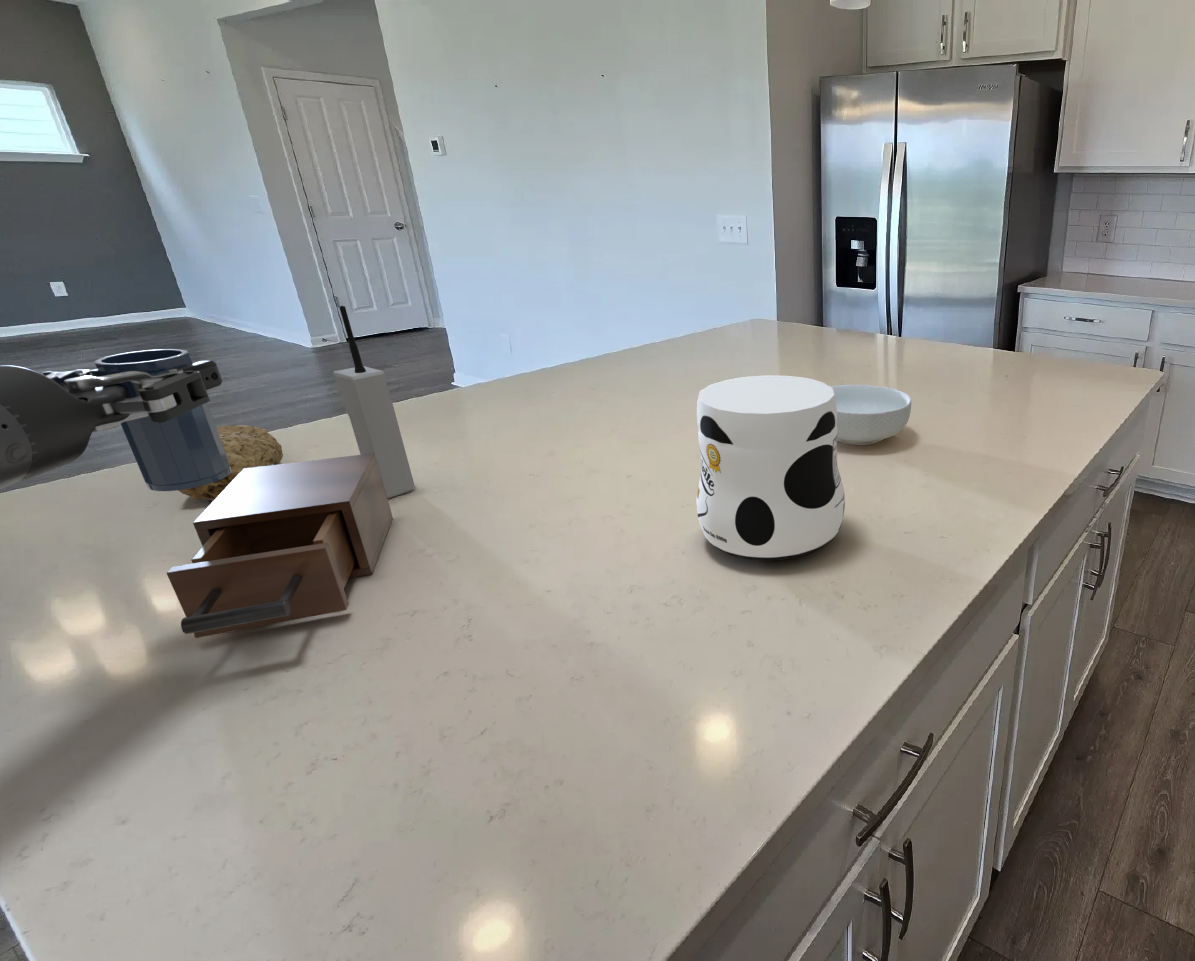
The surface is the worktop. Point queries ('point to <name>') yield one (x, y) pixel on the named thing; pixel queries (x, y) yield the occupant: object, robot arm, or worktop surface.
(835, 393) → the cereal bowl
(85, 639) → the worktop surface
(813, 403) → the milk container
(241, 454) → the sponge
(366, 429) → the vintage mobile phone
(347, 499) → the cabinet
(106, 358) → the utensil crock
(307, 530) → the drawer
